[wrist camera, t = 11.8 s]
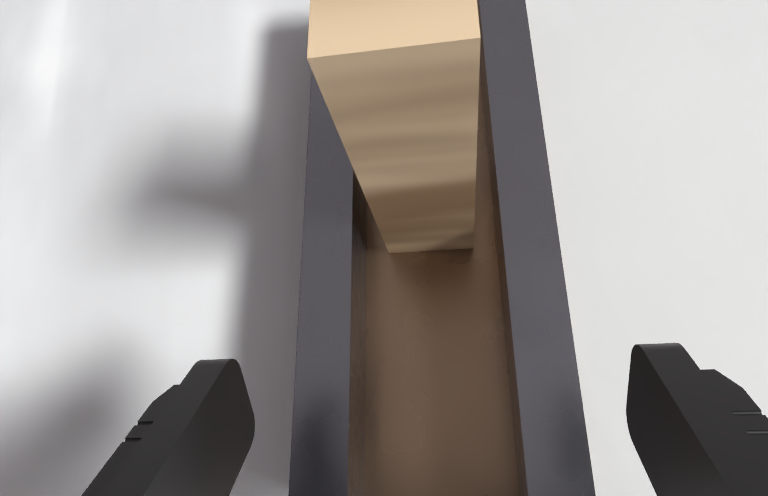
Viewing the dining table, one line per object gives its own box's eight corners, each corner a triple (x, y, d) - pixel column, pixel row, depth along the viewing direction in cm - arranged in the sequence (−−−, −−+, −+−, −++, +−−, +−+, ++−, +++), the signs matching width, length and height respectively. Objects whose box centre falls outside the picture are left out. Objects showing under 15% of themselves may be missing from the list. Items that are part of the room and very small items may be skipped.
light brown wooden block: (473, 248, 18) (480, 37, 8) (389, 253, 18) (306, 58, 9) (466, 158, 19) (466, -109, 10) (387, 165, 19) (314, -85, 10)
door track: (574, 503, 15) (603, 520, 12) (319, 500, 16) (283, 515, 13) (510, 4, 22) (518, -69, 19) (336, 26, 24) (315, -40, 20)
